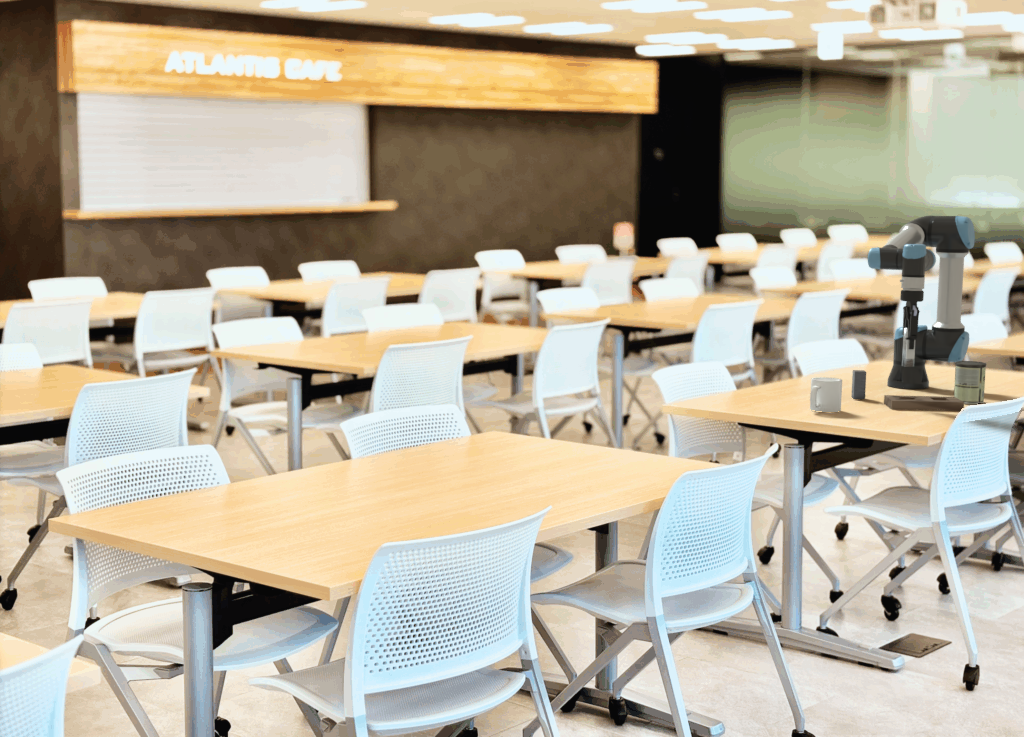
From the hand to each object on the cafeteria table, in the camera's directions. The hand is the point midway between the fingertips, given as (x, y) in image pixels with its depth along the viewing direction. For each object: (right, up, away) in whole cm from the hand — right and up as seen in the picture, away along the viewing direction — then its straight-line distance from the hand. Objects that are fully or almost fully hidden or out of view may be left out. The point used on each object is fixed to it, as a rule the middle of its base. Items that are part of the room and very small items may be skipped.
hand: (908, 357), depth 453 cm
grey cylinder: (0, -3, 0) cm, 3 cm away
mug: (-31, -18, -9) cm, 37 cm away
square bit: (-12, -14, +19) cm, 27 cm away
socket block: (+5, -17, +2) cm, 18 cm away
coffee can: (+25, -16, +14) cm, 33 cm away
